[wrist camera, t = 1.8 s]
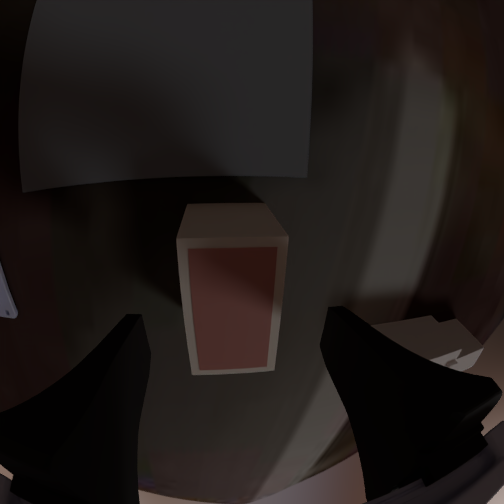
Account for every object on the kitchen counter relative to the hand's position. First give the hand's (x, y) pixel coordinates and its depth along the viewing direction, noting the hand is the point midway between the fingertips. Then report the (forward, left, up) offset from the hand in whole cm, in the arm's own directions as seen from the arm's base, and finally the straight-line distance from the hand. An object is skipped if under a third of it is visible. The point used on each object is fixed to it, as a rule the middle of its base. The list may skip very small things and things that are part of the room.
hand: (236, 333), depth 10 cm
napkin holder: (+17, -8, -7) cm, 20 cm away
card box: (0, 0, -6) cm, 6 cm away
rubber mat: (-4, +12, -6) cm, 14 cm away
